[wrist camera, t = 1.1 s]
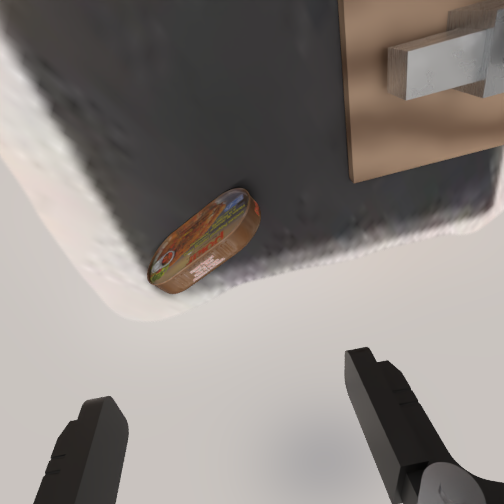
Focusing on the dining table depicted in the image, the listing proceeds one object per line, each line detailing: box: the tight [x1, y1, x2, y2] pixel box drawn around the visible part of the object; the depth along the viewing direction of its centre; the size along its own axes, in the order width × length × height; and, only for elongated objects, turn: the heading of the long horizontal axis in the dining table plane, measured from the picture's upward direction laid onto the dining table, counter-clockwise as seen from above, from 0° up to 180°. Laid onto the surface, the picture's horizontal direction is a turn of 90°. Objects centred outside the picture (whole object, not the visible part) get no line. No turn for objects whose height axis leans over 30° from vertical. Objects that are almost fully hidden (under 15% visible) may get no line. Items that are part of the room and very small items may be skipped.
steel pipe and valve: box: [387, 0, 504, 101], centre depth 28 cm, size 6×18×6 cm, turn 103°
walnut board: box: [338, 0, 504, 183], centre depth 31 cm, size 22×24×2 cm
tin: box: [147, 188, 261, 294], centre depth 37 cm, size 15×3×8 cm, turn 128°
